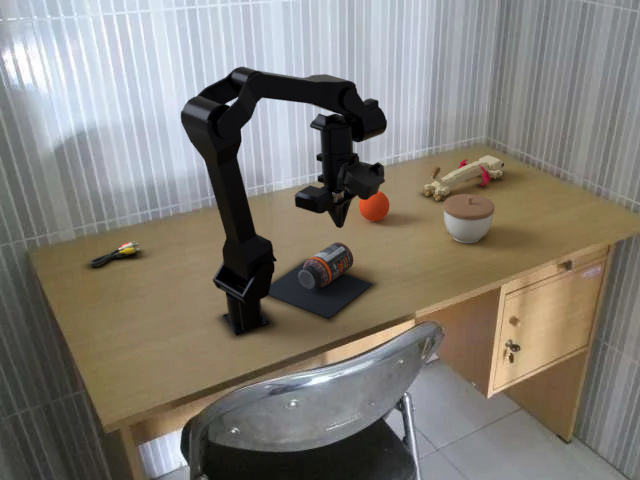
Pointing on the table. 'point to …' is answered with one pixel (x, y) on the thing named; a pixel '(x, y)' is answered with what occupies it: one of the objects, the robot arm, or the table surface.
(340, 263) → the supplement bottle
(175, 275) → the table surface
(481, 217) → the trinket box
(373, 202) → the clementine
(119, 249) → the composite cable
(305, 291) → the mat
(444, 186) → the beige blocky animal figure
